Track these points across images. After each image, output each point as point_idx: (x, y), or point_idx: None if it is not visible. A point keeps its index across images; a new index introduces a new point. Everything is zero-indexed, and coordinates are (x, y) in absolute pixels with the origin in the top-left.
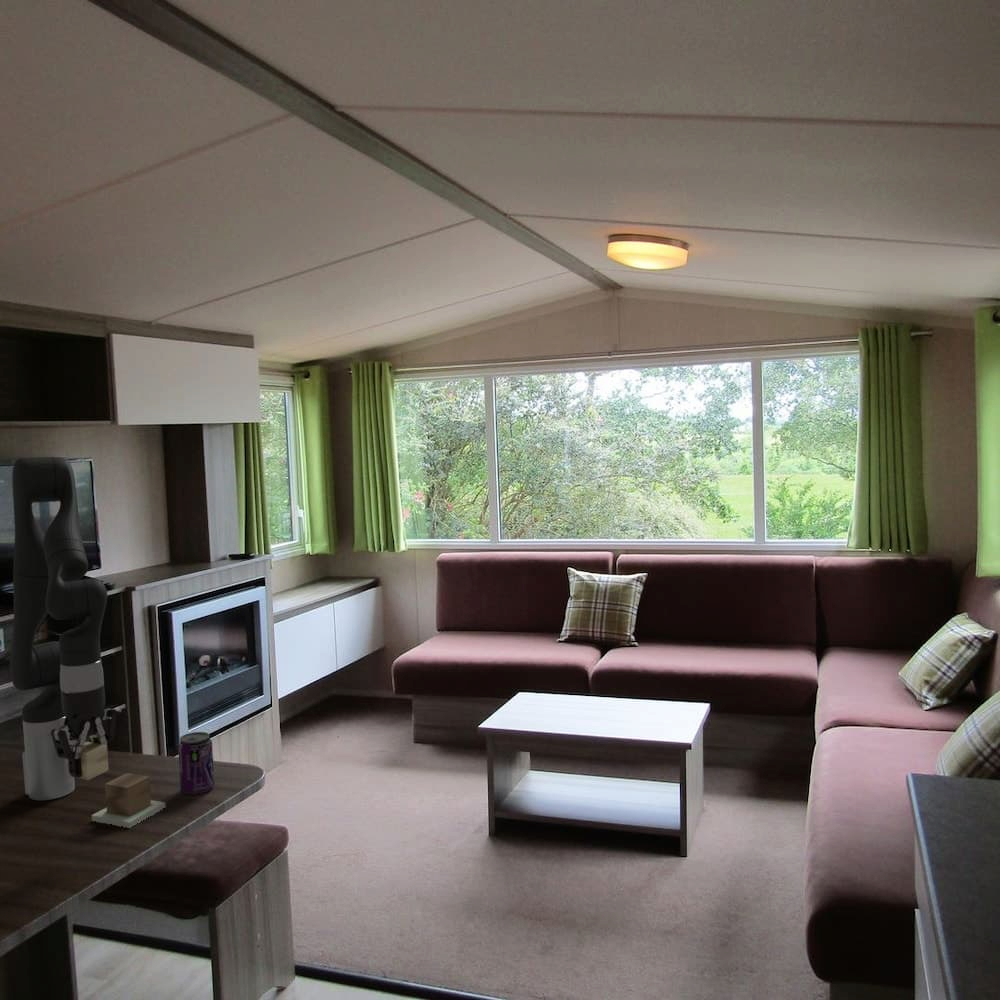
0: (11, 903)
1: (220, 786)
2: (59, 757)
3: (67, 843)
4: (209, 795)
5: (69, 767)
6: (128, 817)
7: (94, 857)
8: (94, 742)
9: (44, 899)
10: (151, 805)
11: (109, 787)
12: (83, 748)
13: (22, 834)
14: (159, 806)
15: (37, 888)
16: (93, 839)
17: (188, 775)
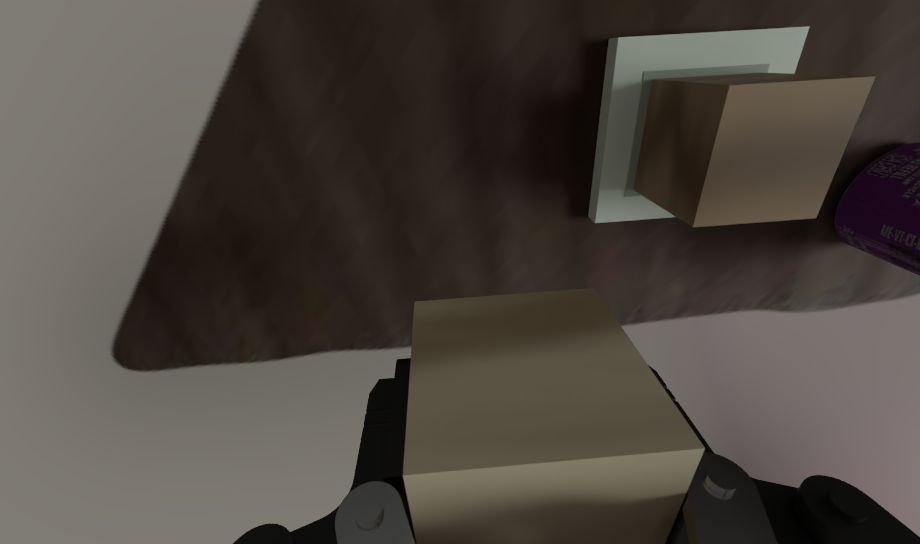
0: (146, 281)
1: None
2: (247, 539)
3: (440, 115)
4: (829, 255)
5: (365, 430)
6: (625, 194)
7: (413, 268)
8: (686, 509)
9: (215, 330)
10: None
11: (711, 116)
12: (524, 532)
13: None
14: None
15: (227, 275)
16: (494, 174)
17: (898, 236)
